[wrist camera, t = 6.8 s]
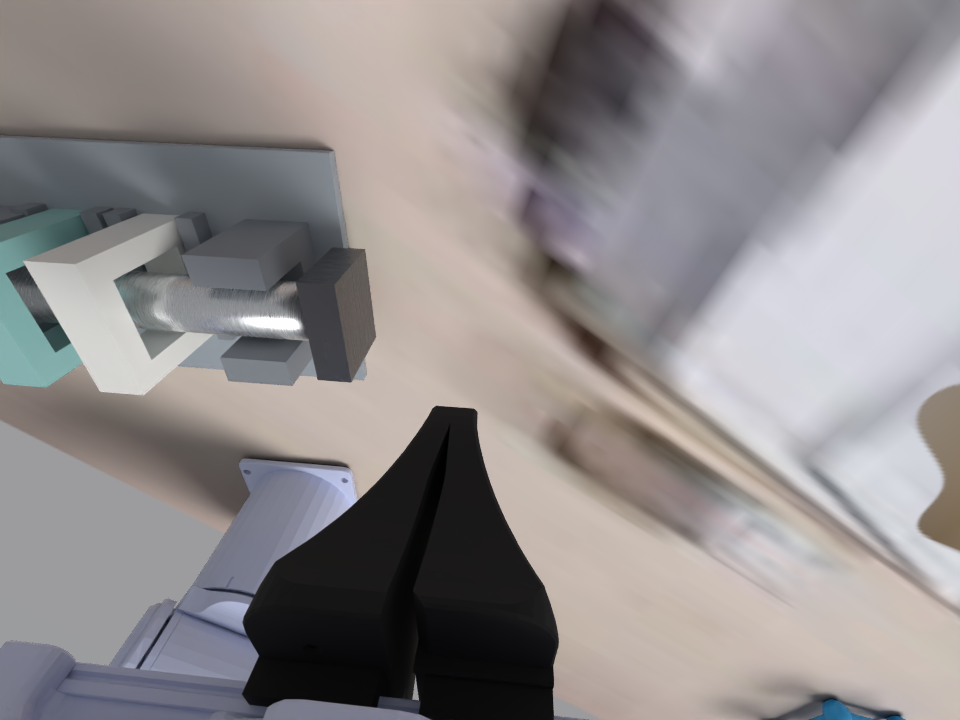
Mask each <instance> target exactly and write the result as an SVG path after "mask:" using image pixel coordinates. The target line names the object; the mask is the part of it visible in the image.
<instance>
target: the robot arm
mask: <svg viewBox="0 0 960 720" xmlns="http://www.w3.org/2000/svg"><path fill="white" fill-rule="evenodd" d="M238 465H239V468H240V470H241V473H242V475H243V478H244V480H245V483H246V485H247V487H248V490H249V492H250V495H249V497H248V498H247V500H246V502H245V503H244V505H243V506H242V508H241V509H240V511H239V513H238V514H237V516H236V517H235V519H234V520H233V522H232V524H231V525H230V527H229V528H228V530H227V531H226V533H225V535H224V536H223V538H222V539H221V541H220V542H219V544H218V546H217V547H216V549H215V550H214V552H213V553H212V555H211V557H210V558H209V560H208V561H207V563H206V564H205V566H204V568H203V569H202V571H201V572H200V574H199V576H198V577H197V579H196V580H195V582H194V583H193V585H192V586H191V588H190V589H189V590H188V592H187V593H186V594H185V596H184V597H183V598H182V600H181V601H180V602H179V604H178V605H177V607H176V608H175V609H174V606H175V604H176V603H177V602H176V601H174V600H171V599H165V600H164V601H163V602H162V603H158V604H155V605H153V606H150V607H149V608H148V610H147V611H146V613H145V614H144V615H143V617H142V618H141V620H140V621H139V623H138V624H137V625H136V627H135V628H134V630H133V631H132V633H131V634H130V635H129V637H128V638H127V640H126V641H125V643H124V644H123V646H122V647H121V648H120V650H119V652H118V653H117V654H116V656H115V657H114V659H113V660H112V662H111V663H110V664H109V666H107V665H98V664H89V663H80V662H76V661H75V659H74V658H73V656H72V655H71V654H70V653H69V652H67V651H66V650H64V649H62V648H59V647H57V646H53V645H47V644H39V643H30V642H21V641H8V642H5V643H4V645H3V646H2V647H1V648H0V720H586V719H578V718H568V717H560V716H554V710H553V687H554V673H553V664H554V660H555V657H556V653H557V649H558V644H559V638H558V631H557V626H556V621H555V618H554V614H553V611H552V607H551V604H550V601H549V599H548V596H547V593H546V590H545V587H544V585H543V583H542V582H541V580H540V579H539V577H538V576H537V574H536V573H535V571H534V570H533V568H532V567H531V565H530V563H529V562H528V560H527V559H526V557H525V555H524V553H523V552H522V550H521V548H520V547H519V545H518V543H517V541H516V539H515V537H514V535H513V533H512V531H511V529H510V528H509V526H508V524H507V522H506V520H505V518H504V515H503V513H502V511H501V509H500V506H499V504H498V502H497V499H496V497H495V494H494V492H493V489H492V486H491V483H490V480H489V477H488V474H487V471H486V468H485V464H484V461H483V457H482V452H481V448H480V444H479V438H478V431H477V411H476V410H475V409H471V408H457V407H444V406H435V407H434V408H433V409H432V411H431V413H430V414H429V416H428V418H427V419H426V421H425V422H424V424H423V426H422V427H421V428H420V430H419V431H418V433H417V434H416V436H415V437H414V438H413V440H412V441H411V442H410V444H409V445H408V446H407V448H406V449H405V450H404V452H403V453H402V454H401V455H400V457H399V458H398V459H397V460H396V461H395V463H394V464H393V465H392V466H391V467H390V468H389V470H388V471H387V472H386V473H385V474H384V475H383V476H382V477H381V478H380V479H379V481H378V482H377V483H376V484H375V485H374V486H373V487H372V488H371V489H370V490H369V491H368V492H367V493H366V494H364V495H363V496H362V497H361V498H360V499H359V500H357V495H356V490H355V485H354V480H353V475H352V471H351V470H350V469H349V468H347V467H339V466H327V465H316V464H304V463H293V462H281V461H270V460H258V459H247V458H246V459H242V460H241V461H240V463H239V464H238ZM415 675H416V681H417V688H418V695H419V701H418V700H412V697H413V690H414V683H415Z"/></svg>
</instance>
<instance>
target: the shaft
mask: <svg viewBox="0 0 960 720" xmlns="http://www.w3.org/2000/svg"><path fill="white" fill-rule="evenodd" d="M6 275H7V276H8V278H9V280H10V281H11V283H12V284H13V286H14V288H15V289H16V291H17V292H18V294H19V296H20V297H21V299H22V300H23V302H24V304H25V305H26V307H27V308H28V310H29V312H30V313H31V315H32V316H33V318H34V320H35V321H36V322H50V323H59V321H58V320H57V318H56V316H55V315H54V313H53V311H52V310H51V308H50V306H49V304H48V303H47V301H46V299H45V298H44V296H43V294H42V293H41V291H40V289H39V288H38V286H37V284H36V283H35V281H34V279H33V277H32V276H31V274H30V272H29V271H28V269H27V267H26V266H25V265H24V266H22V267H20V268H17V269H15V270H12V271H10V272H7V273H6ZM113 281H114V283H115V285H116V287H117V289H118V291H119V294H120V296H121V298H122V300H123V302H124V304H125V306H126V308H127V310H128V312H129V314H130V316H131V318H132V320H133V323H134V325H135V327H136V329H148V330H162V331H176V332H190V333H205V334H219V335H233V336H247V337H261V338H275V339H289V340H303V341H309V344H310V348H311V353H312V357H313V361H314V366H315V370H316V375H317V379H318V380H326V381H339V382H352V380H353V378H354V377H355V375H356V373H357V371H358V369H359V367H360V366H361V364H362V362H363V360H364V358H365V356H366V355H367V353H368V351H369V349H370V347H371V345H372V343H373V342H374V340H375V338H376V333H375V325H374V317H373V309H372V301H371V293H370V285H369V277H368V269H367V261H366V253H365V249H353V248H336V247H332V248H331V249H330V250H329V251H328V252H327V253H326V254H325V255H324V256H323V257H322V258H321V259H319V260H318V261H317V262H316V263H315V264H314V265H313V266H312V267H311V268H310V269H309V270H308V271H307V272H306V273H305V274H304V275H303V276H302V277H301V278H300V279H299V280H298V281H286V280H279V281H277V282H276V283H275V284H274V285H273V286H272V287H271V288H270V289H268V290H267V291H256V290H241V289H225V288H210V287H194V286H193V285H192V282H191V279H190V277H189V274H176V273H160V272H144V271H129V272H128V273H126V274H124V275H122V276H120V277H118V278H116V279H114V280H113Z"/></svg>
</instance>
